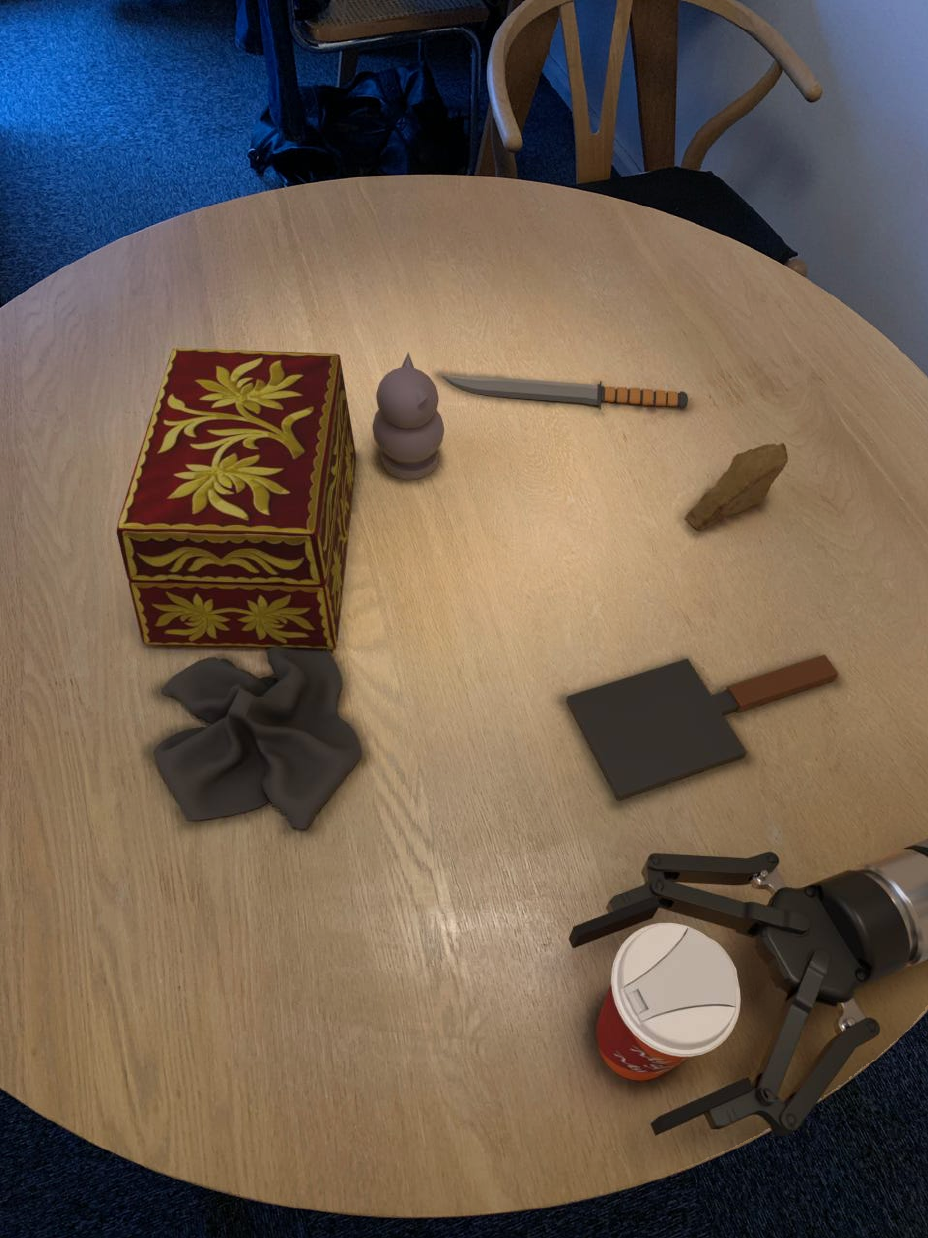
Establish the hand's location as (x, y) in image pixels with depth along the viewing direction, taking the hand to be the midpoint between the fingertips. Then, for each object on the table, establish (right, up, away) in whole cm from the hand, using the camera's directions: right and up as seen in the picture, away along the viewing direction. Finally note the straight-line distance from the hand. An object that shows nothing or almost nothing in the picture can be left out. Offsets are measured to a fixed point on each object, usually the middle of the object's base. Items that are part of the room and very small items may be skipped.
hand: (612, 1027), depth 63 cm
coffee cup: (+3, -4, +8) cm, 9 cm away
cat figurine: (-16, +46, +44) cm, 66 cm away
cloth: (-29, +18, +23) cm, 41 cm away
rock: (+19, +40, +42) cm, 61 cm away
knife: (+2, +55, +52) cm, 76 cm away
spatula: (+14, +19, +26) cm, 35 cm away
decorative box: (-31, +35, +35) cm, 59 cm away
